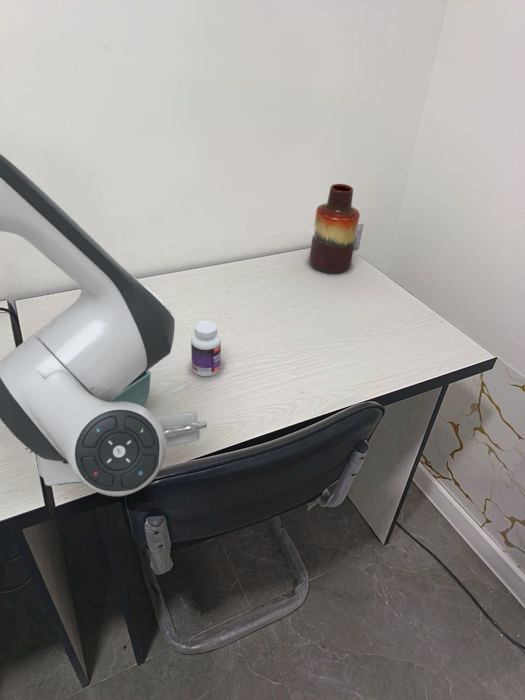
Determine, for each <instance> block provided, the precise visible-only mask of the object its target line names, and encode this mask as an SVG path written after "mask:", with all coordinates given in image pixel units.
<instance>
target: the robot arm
mask: <svg viewBox="0 0 525 700" xmlns="http://www.w3.org/2000/svg"><path fill="white" fill-rule="evenodd" d="M0 232H5V233H8V234H9V233H10V234H13V235H16V236H19V237H21V238H22V239H24V240H25V241H27V242H28V243H29V244H30V245H32V246H33V248H35V249H36V250H37V251H39V252H40V253H41V254H42V255H43V256H45V257H46V258H47V260H49V261H50V262H52V264H54V265H55V266H56V267H57V268H58V269H60V270H61V271H62V272H63V273H64V274H66V275H67V276H68V277H69V278H70V279H71V280H73V281H74V283H76V284H77V285H78V286H79V287H80V293H79V296H78V297H77V299H76V300H75V301H74V302H73V303H72V304H71V305H69V306H68V307H67V308H66V309H64V310H63V311H62V312H60V313H59V314H58V315H56V316H55V318H53V319H52V320H51V321H49V322H48V323H47V324H46V325H44V326H42V328H41V329H39V330H37V332H35V333H33V334H31V335H30V336H29V337H28V338H26V339H25V340H24V341H23V342H22V343H20V344H19V345H17V346H16V347H15V348H14V349H12V350H11V351H10V352H9V353H7V354H6V356H5V357H3V358H1V360H0V421H1V422H2V423H3V424H4V425H5V426H6V428H7V429H8V431H10V433H12V434H13V436H14V437H15V438H16V439H17V440H18V441H19V442H21V444H23V445H24V446H25V447H26V448H28V449H29V451H31V452H32V453H34V454H35V457H36V463H37V471H38V475H39V476H40V477H41V478H42V479H43V482H44V485H45V486H48V487H52V486H62V485H63V486H64V485H69V484H70V485H71V484H80V483H83V484H84V485H85V486H86V487H87V488H89V489H90V490H92V491H94V492H95V493H98V494H100V495H104V496H108V497H125V496H128V495H131V494H134V493H136V492H138V491H140V490H142V489H143V488H145V487H147V486H148V485H149V484H150V483H152V481H153V480H155V478H156V477H157V475H158V474H159V472H160V471H161V468H162V467H163V464H164V462H165V459H166V457H167V456H166V455H167V450H168V448H170V447H176V446H180V445H185V444H189V443H192V442H195V441H198V440H200V438H201V430H204V429H207V428H208V427H207V426H208V423H207V421H206V420H205V421H204V420H203V421H199V418H198V413H197V412H196V411H188V412H181V413H175V414H171V415H166V416H159V417H156V416H155V414H153V413H152V411H150V410H149V409H148V408H146V407H145V406H143V407H142V406H141V405H138V404H135V403H131V402H125V401H117V402H110V401H111V400H112V399H113V398H115V397H116V396H117V395H118V394H119V393H120V392H121V391H122V390H124V389H125V388H126V387H127V386H128V385H129V384H130V383H131V382H132V381H134V380H135V379H136V378H137V377H138V376H139V375H140V374H141V373H143V372H146V371H147V370H150V369H151V368H153V367H154V366H155V365H156V364H158V363H159V362H161V361H162V360H163V359H165V358H166V357H167V356H169V355H170V354H171V352H172V348H173V344H174V338H175V327H176V325H175V324H176V320H175V318H174V316H173V314H172V312H171V311H170V309H169V307H168V306H167V304H166V303H165V301H164V300H163V299H162V298H161V297H160V296H159V294H157V293H156V292H155V291H154V290H153V289H151V288H150V287H149V286H147V284H145V283H143V282H142V281H141V280H139V279H138V278H136V277H134V276H133V275H132V274H131V273H129V272H128V271H127V269H125V267H123V266H122V265H121V264H120V263H119V262H118V261H117V260H115V258H114V257H113V256H112V255H110V253H108V251H106V250H105V249H104V248H103V247H102V246H101V245H100V244H99V242H97V241H96V240H95V239H94V238H93V237H92V236H91V235H90V234H89V233H88V232H87V231H86V230H85V229H84V228H83V227H82V226H80V225H79V224H78V223H77V221H75V220H74V219H73V217H71V216H70V215H69V214H68V213H67V212H66V211H65V210H64V209H63V208H62V207H60V205H58V204H57V203H56V202H55V201H54V200H53V199H52V198H51V197H50V196H49V195H48V194H46V193H45V191H44V190H42V189H41V188H40V187H39V186H38V185H37V184H36V183H35V182H34V181H33V180H31V178H29V176H27V175H26V174H25V173H24V172H23V171H22V170H20V169H19V168H18V167H17V166H16V165H15V164H14V163H12V161H10V160H9V159H7V158H6V157H5V156H4V155H3V154H1V153H0Z"/></svg>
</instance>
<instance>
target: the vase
mask: <svg viewBox="0 0 525 700" xmlns="http://www.w3.org/2000/svg"><path fill="white" fill-rule="evenodd" d="M353 196H354V188H353V187H352V186H351V185H348V184H345V183H335V184H332V185H331V186H330V188H329V192H328V197H327V202H325V203H322V204H319V205H317V207H316V210H315V215H314V223H313V230H312V231H313V232H312V238H311V245H310V253H309V260H308V261H309V262H308V263H309V265H310V266H311V267H312V268H313V269H314V270H316V271H318V272H321V273H324V274H330V275H338V274H339V275H340V274H343V273H347V272H348V270H350V268H351V264H352V260H353V259H352V258H353V253H354V250H355V249H354V248H355V243H356V239H357V233H358V228H359V222H360V217H361V213H360V211H359V210H358V209H357V208H356V207H354V206H353Z"/></svg>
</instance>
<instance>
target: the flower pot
mask: <svg viewBox="0 0 525 700" xmlns="http://www.w3.org/2000/svg"><path fill="white" fill-rule="evenodd" d="M151 374H152V372H151V371H150V369H148V370H147V371H146V372H143V373H141V374H140V375H139V376H138V377H137V378H136V379H135V380H134V381H132V382H131V383H130V384H129V385H128V386H127V387H126V388H125V389H124V390H122V391H121V392H120V393H119V394H118V395H117V396H116V397H115V398H113V399H112V400H111V401H110V402H117V401H125V402H131V403H135V404H138V405H141V406H142V407H145V404H146V403H147V401H148V399H149V396H150V388H151V387H150V386H151Z"/></svg>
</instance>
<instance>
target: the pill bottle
mask: <svg viewBox="0 0 525 700" xmlns="http://www.w3.org/2000/svg"><path fill="white" fill-rule="evenodd" d="M221 340H222V339H221V336H220V334H219V333H218V326H217V324H216V323H215V322H214V321H212V320H207V319H205V320H199V321H198V322H196V323H195V325H194V333H193V334H192V335H191V338H190V351H191V369H192V371H193V373H195V374H196V375H197V376H201V377H211V376H214V375H217V374H218V373H219V372H220V369H221V356H222V355H221V353H222V352H221V351H222V349H221V347H222V341H221Z"/></svg>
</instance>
